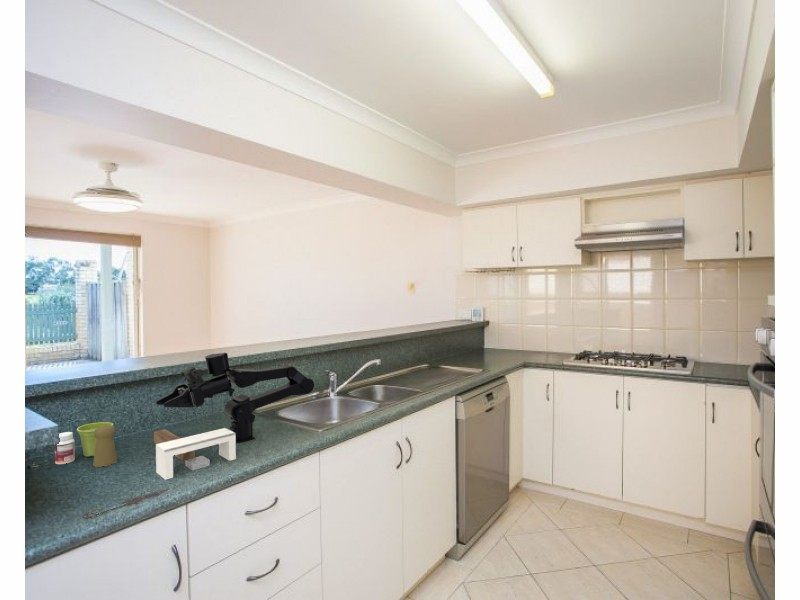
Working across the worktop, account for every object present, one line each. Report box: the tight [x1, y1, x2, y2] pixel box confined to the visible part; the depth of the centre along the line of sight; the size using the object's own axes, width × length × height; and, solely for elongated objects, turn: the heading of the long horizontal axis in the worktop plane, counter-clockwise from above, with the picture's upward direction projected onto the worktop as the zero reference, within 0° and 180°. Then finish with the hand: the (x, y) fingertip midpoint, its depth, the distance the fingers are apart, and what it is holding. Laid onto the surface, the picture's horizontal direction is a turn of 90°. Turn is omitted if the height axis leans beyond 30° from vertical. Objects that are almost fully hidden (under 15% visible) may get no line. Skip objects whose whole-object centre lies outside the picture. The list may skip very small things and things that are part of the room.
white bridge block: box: [155, 427, 237, 481], centre depth 130 cm, size 20×7×8 cm, turn 137°
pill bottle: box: [54, 431, 76, 465], centre depth 133 cm, size 5×5×8 cm
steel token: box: [184, 455, 211, 471], centre depth 130 cm, size 5×5×2 cm
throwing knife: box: [82, 487, 176, 520], centre depth 108 cm, size 4×20×1 cm, turn 138°
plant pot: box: [76, 421, 114, 458], centre depth 139 cm, size 9×9×9 cm
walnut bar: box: [153, 428, 196, 462], centre depth 142 cm, size 4×24×4 cm, turn 48°
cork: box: [92, 425, 118, 468], centre depth 132 cm, size 6×6×11 cm
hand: (160, 404), depth 135 cm, fingers open, 9 cm apart
